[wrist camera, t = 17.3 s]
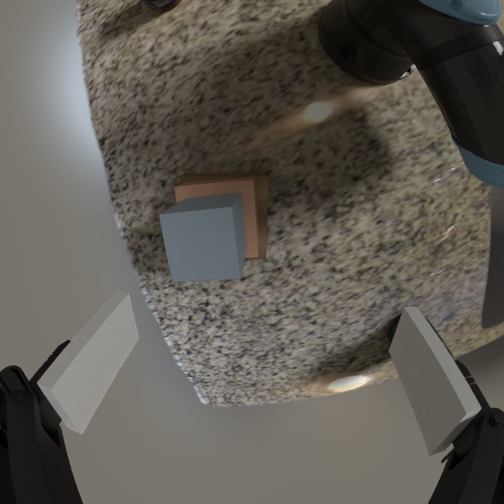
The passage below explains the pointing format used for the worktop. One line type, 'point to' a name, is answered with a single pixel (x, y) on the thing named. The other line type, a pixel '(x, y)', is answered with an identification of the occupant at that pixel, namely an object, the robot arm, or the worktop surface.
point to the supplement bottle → (161, 4)
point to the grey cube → (205, 238)
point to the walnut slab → (261, 197)
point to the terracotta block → (229, 187)
